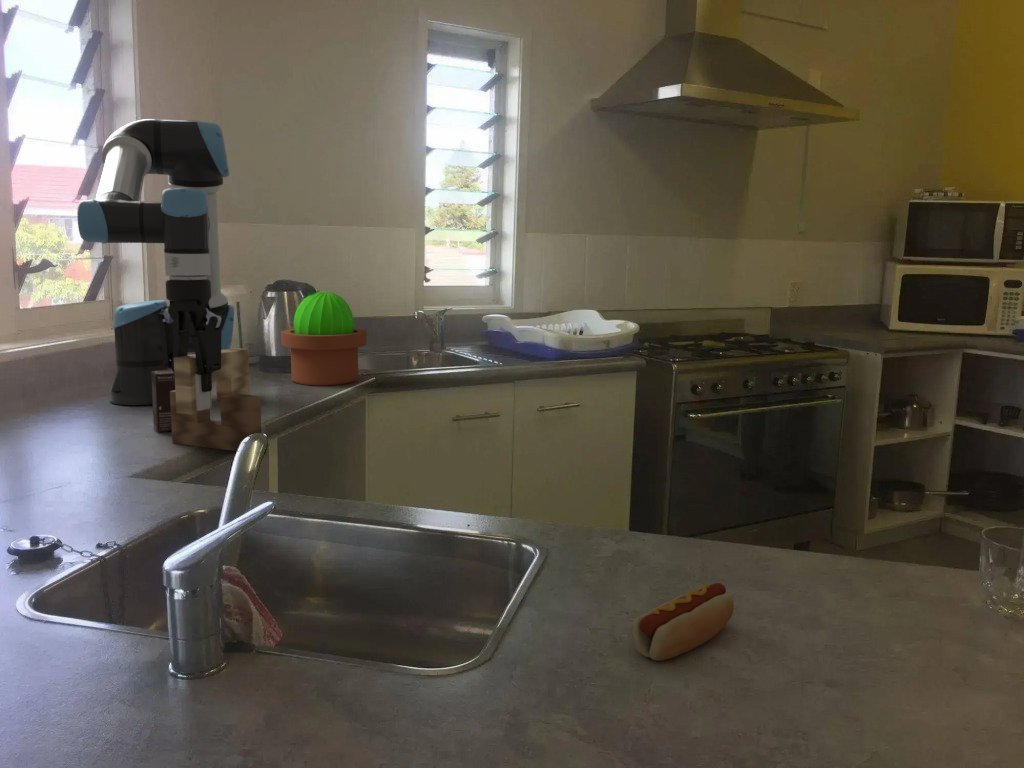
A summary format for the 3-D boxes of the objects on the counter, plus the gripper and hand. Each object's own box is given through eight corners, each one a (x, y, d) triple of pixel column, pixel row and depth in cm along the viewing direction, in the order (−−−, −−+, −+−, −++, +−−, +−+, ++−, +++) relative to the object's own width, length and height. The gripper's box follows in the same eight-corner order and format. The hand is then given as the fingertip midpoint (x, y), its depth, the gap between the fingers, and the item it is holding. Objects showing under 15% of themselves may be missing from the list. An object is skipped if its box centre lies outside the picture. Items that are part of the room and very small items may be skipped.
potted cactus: (382, 380, 241) (381, 289, 237) (316, 390, 225) (314, 292, 221) (333, 371, 255) (331, 285, 251) (267, 380, 239) (264, 288, 235)
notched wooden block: (172, 442, 168) (169, 391, 166) (185, 439, 171) (183, 388, 169) (249, 452, 161) (247, 399, 159) (261, 448, 164) (260, 396, 163)
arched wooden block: (191, 414, 156) (189, 358, 155) (176, 413, 158) (173, 357, 156) (250, 400, 171) (248, 349, 169) (235, 398, 172) (233, 347, 171)
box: (158, 433, 175) (155, 373, 173) (153, 429, 179) (150, 370, 177) (189, 430, 179) (186, 371, 177) (184, 425, 182) (181, 368, 180)
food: (666, 675, 82) (668, 625, 81) (619, 655, 86) (621, 607, 85) (743, 630, 92) (746, 585, 91) (697, 614, 96) (700, 570, 95)
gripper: (135, 277, 155) (142, 408, 159) (211, 280, 149) (216, 415, 153) (166, 276, 162) (173, 401, 166) (240, 278, 156) (245, 408, 160)
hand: (194, 408), depth 159 cm, fingers closed on arched wooden block, 3 cm apart
